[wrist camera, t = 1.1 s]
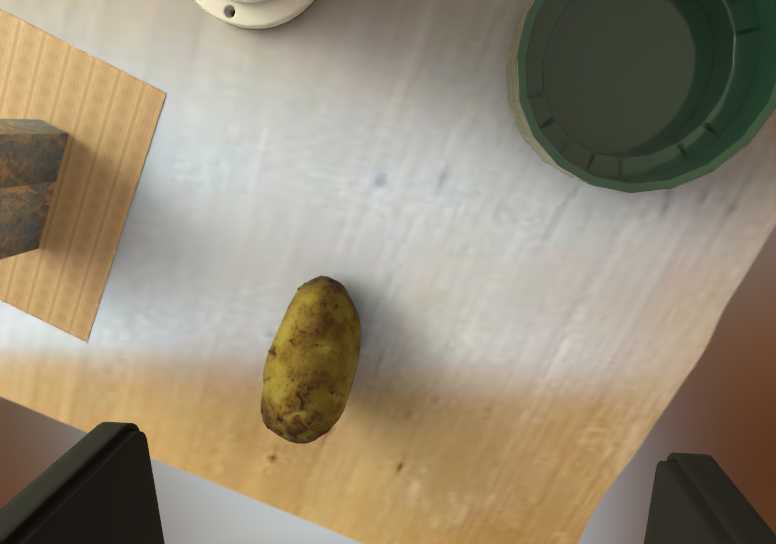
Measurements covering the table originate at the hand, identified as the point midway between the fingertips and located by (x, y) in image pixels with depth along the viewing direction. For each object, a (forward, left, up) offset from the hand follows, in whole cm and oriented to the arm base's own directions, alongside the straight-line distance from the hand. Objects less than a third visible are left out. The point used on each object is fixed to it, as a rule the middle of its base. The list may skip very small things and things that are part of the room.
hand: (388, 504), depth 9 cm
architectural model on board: (-24, -25, -33) cm, 48 cm away
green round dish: (+1, +17, -33) cm, 37 cm away
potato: (+3, -15, -33) cm, 37 cm away
